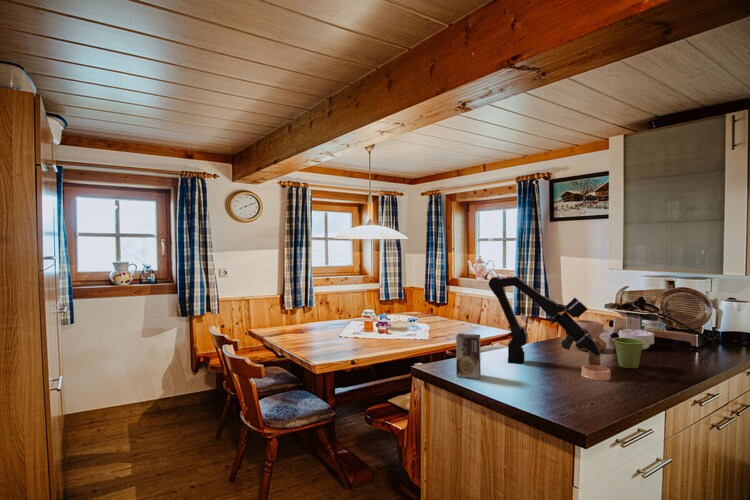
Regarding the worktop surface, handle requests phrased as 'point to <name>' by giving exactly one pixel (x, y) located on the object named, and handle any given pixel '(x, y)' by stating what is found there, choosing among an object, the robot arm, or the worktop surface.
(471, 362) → the coffee box
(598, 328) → the ceramic jug
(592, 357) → the tall square post
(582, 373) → the tan shallow dish
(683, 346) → the worktop surface
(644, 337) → the paper bowls
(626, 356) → the plant pot
